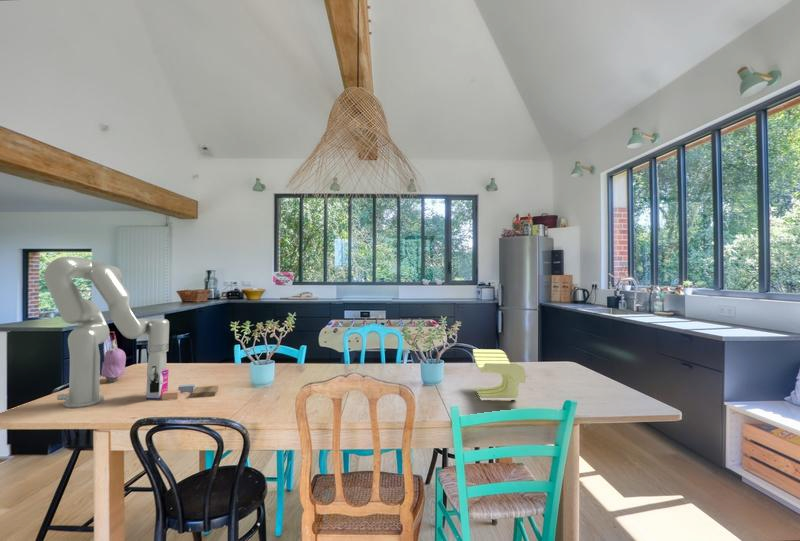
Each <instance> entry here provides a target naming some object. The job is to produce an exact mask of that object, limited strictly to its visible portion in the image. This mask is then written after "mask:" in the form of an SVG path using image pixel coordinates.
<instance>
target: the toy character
mask: <svg viewBox="0 0 800 541" xmlns="http://www.w3.org/2000/svg"><path fill="white" fill-rule="evenodd" d="M126 355H127V354H126V352H125V351H124V350H123V349H121V348H118V345H117V344H116V339H112V340H111V347H110V349H108V350H107V351H105V355H104V357H103V360H104V361H103V362H102V367H101V369H100V375H101V376H102V377H103V378H104V377H105V379H106V380H107V381H108V382H109V383H114V382H115V381H116V380H117V379H118V378H122V376H124V375H125V371H126V363H127V362H126V361H127V356H126Z"/></svg>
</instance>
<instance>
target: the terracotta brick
mask: <svg viewBox="0 0 800 541" xmlns="http://www.w3.org/2000/svg"><path fill="white" fill-rule="evenodd" d="M179 397H181V393H180V390H179V391H178V390H167V391H164V392H163V393H162V398H161V401H168V400H167V399H173V400H179V399H180V398H179ZM178 398H179V399H178Z"/></svg>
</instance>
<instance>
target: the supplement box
mask: <svg viewBox="0 0 800 541" xmlns="http://www.w3.org/2000/svg"><path fill="white" fill-rule="evenodd" d="M155 375H158V373H157V374H155ZM146 376H147V375H146ZM156 379H157V377H156ZM158 382H159V392H156V393H150V376H149V377H148V376H147V377H146V393H145V399H146V400H160V399H162V393H163V392H164V391H169V390H168V386H169V369H168V368H166V369H165V370H163V371H162V372H161V375H160V376H159V380H158Z"/></svg>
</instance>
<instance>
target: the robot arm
mask: <svg viewBox="0 0 800 541" xmlns="http://www.w3.org/2000/svg"><path fill="white" fill-rule="evenodd" d="M73 278H76V279H77V278H79V279H84V280H88V281H91V283H92V285H93V286H94V287H95V288H96V290H97V291H98V293H99V294H100V296H101V297H102V299H103V300H104V301H105V303H106V305H107V309H108V312H109V315H110V318H111V320H112V323H114V325H115V326H116V328H117V330H118V331H119V332H120V334H121V335H122V336H123V337H125V338H126V339H130V340H136V339H139V338H141V337H144V336H147V353H148V359H147V368H146V369H147V370H146V376H148V377H149V376H150V393H156V392H159V382H158V380H159V376H160V375H161V372H162V371H163V370H165V369H167V352H169V349H170V348H169V347H170V346H169V342H170V341H169V340H170V321H169V320H168V319H166V318H156V319H155V318H154V319H153V318H152V319H150V318H137V317H136V316H135V314H134V313H133V311H132V309H131V305H130V301H131V293H130V292H129V291H128V289H127V288H126V287H125V285H124V284H123V282H122V279H123V273H122V271H121V269H120V268H118V267H117V266H114V265H111V264H107V263H103V262H99V261H95V260H91V259H88V258H84V257H76V256H61V257H58V258H55V259H53V260H52V261H51V262H50V263H49V264H47V266H46V268H45V269H44V273H43V280H44V283H45V286H46V288H47V290H48V291H49V293H50V296H51V298H52V300H53V303H54V305H55V308H56V309H57V311H58V313H59V316H60V317H61V319H62V321H64V322H65V323H66V324H69V325H75V324H76V325H77V327H75V328H73V329H72V330H71V332H70V333H69V334H68V338H67V345H68V351H69V377H68V379H69V383H68V384H69V385H68V388H69V389H68V393H60V394H58V393H57V396H56V399H57V401H65V402H63V407H64V408H68V409H69V408H75V409H76V408H82V407H84V408H85V407H88V406H89V407H90V406H93V405H97V404H99V403H101V402H103V401H104V400H105V397H104V396H103V395H100V382H101V380H100V378H101V374H100V372H101V353H100V348H99V345H100V344H101V345H102V344H103V343H104V342H106V341H107V340H108V339H109V337H110V328H109V325H108V323H107V322H106V319H105V317H104V314H103V313H102V311H101V308H100V307H99V306H98V304H97V303H96V302H95V301H92V300H91V299H84V298H83V296H82V294H81V292H80V290H79V287H78V286H77V285H76V283H75V282H74V281H73ZM157 373H158V375H155V374H157ZM156 377H157V379H156Z"/></svg>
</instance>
